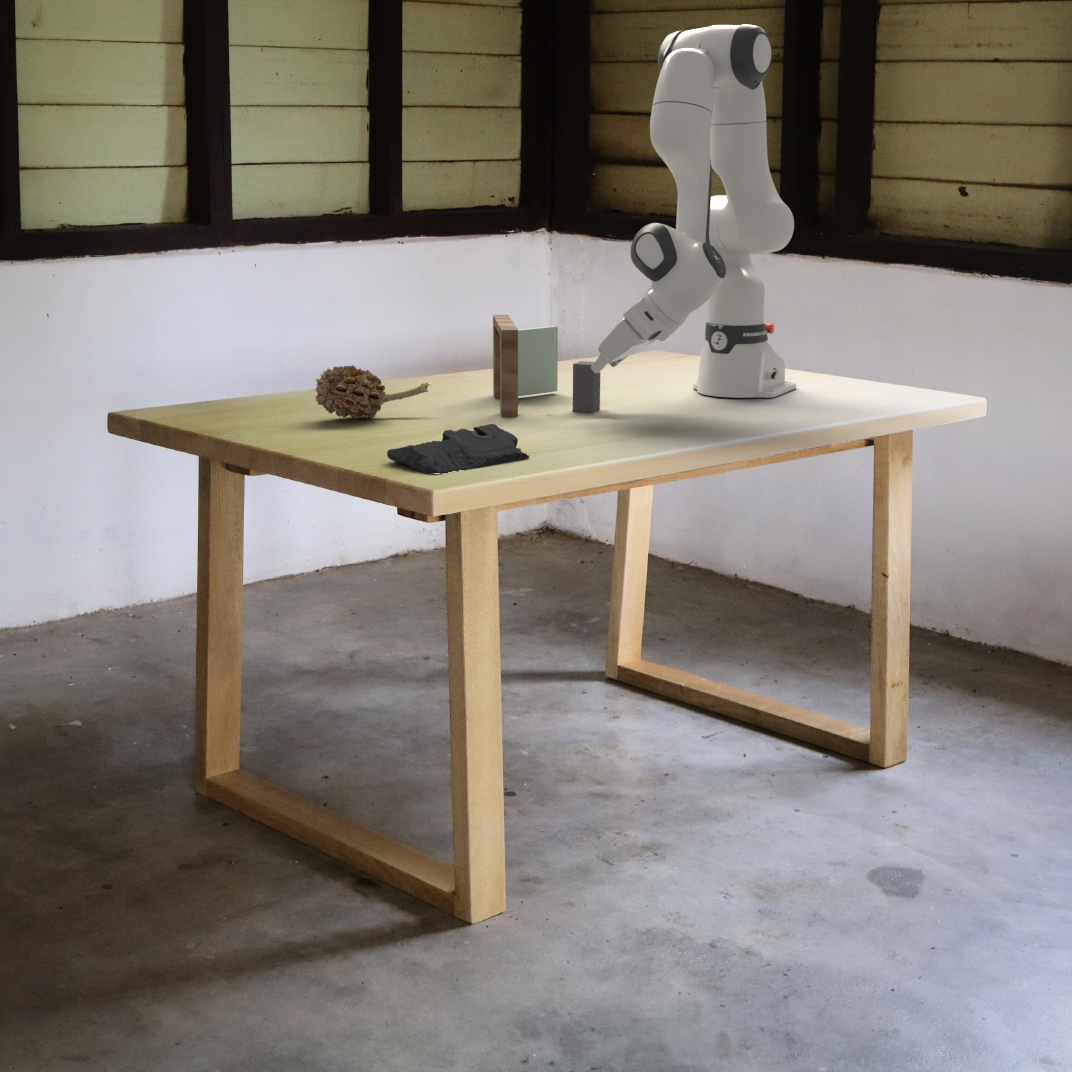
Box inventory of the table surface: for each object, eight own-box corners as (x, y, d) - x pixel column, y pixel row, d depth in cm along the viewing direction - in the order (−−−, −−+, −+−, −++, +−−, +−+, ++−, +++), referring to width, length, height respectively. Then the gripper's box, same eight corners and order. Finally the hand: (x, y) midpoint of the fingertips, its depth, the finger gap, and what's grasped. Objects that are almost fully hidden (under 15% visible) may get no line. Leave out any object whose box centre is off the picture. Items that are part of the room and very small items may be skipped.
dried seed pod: (325, 426, 269) (323, 371, 266) (307, 418, 277) (305, 364, 275) (438, 417, 279) (438, 363, 276) (418, 409, 287) (417, 357, 284)
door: (507, 397, 297) (507, 331, 293) (498, 396, 299) (498, 330, 295) (557, 391, 305) (557, 326, 301) (548, 389, 307) (548, 325, 304)
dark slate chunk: (372, 464, 240) (371, 434, 239) (478, 446, 255) (477, 418, 253) (433, 479, 229) (432, 448, 228) (539, 459, 244) (539, 430, 242)
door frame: (493, 395, 303) (492, 314, 299) (508, 394, 303) (508, 314, 299) (501, 416, 279) (501, 329, 275) (517, 416, 279) (517, 329, 275)
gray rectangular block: (580, 408, 289) (580, 361, 286) (599, 409, 287) (600, 362, 285) (572, 411, 285) (573, 363, 283) (592, 412, 284) (593, 365, 281)
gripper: (660, 299, 286) (610, 348, 292) (625, 309, 268) (572, 360, 274) (682, 324, 286) (631, 372, 291) (648, 335, 267) (595, 387, 273)
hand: (602, 367), depth 282 cm, fingers open, 8 cm apart
